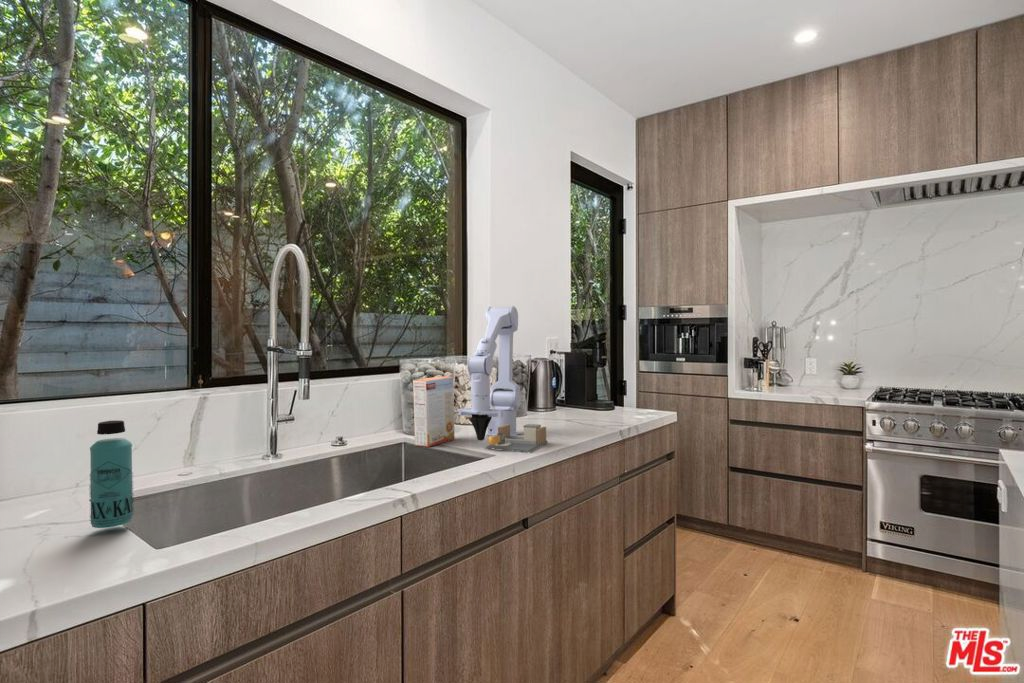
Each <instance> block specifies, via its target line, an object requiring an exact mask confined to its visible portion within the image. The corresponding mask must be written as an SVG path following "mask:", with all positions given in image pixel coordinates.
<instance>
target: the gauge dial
mask: <svg viewBox="0 0 1024 683" xmlns="http://www.w3.org/2000/svg"><path fill="white" fill-rule="evenodd" d="M497 435H500V442H499V443H496V444H495V445H492V446H499V447H502V446H509V445H511V443H510V442H505V433H497Z"/></svg>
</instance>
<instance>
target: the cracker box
mask: <svg viewBox="0 0 1024 683" xmlns="http://www.w3.org/2000/svg"><path fill="white" fill-rule="evenodd" d="M412 395H413V424H414V425H413V426H414V427H413V428H414V429H413V430H414V446H417V447H425V448H429V447H433V446H436V445H439V444H443V443H447V442H449V440H450V441H453V440H455V410H454V409H455V405H454V403H455V402H454V398H455V397H454V377H453V376H444V375H443V376H435V377H427V378H419V379H414V380H412ZM452 439H453V440H452Z"/></svg>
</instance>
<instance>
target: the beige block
mask: <svg viewBox="0 0 1024 683" xmlns="http://www.w3.org/2000/svg"><path fill="white" fill-rule="evenodd" d="M541 426H542V425H541V424H538V423H537V424H536V423H526V424H524V425H523V436H524V440H532V441H536V430H537V429H539V428H541Z"/></svg>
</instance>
